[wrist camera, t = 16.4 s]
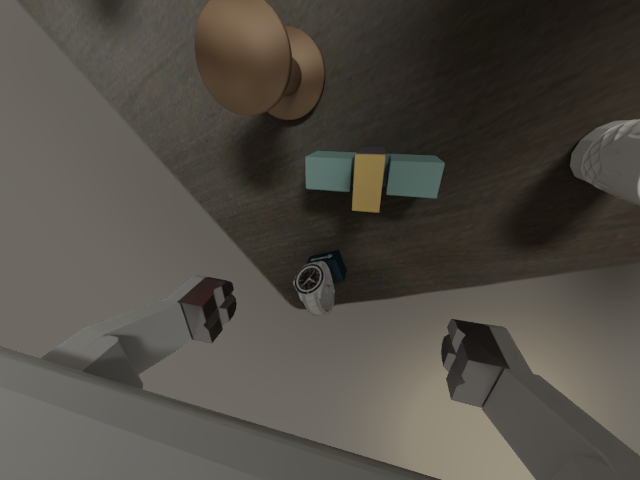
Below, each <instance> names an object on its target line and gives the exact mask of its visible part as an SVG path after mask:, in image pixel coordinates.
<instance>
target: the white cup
mask: <svg viewBox="0 0 640 480" xmlns="http://www.w3.org/2000/svg"><path fill="white" fill-rule="evenodd" d="M570 168H571V170H572V172H573V174H574V176H575V177H577V178H579V179H581V180H583V181H585V182H587V183H589V184H592V185H593V186H594V187H596V188H598V189H601V190H603V191H605V192H607V193H610V194H612V195H614V196H616V197H618V198H621V199H623V200H626V201H628V202H631V203H633V204H636V205H638V206H640V119H639V120H626V121H613V122H611V123H608V124H605V125H603V126H600V127H597V128H595V129H594V130H593V131H591V132H590V133H589V134H588V135H586V136H585V137H584V138H582V139H581V140H580V142H579V143H578V144H577V146H576V147H575V149H574V150H573V152H572V154H571V160H570Z"/></svg>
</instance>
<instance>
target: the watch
mask: <svg viewBox="0 0 640 480" xmlns="http://www.w3.org/2000/svg"><path fill="white" fill-rule="evenodd" d="M346 271H347V270H346V268H345V265H344V263H343V260H342V257H341V255H340V252H339V250H337V251H333V252H328V253H324V254H319V255H314V256H310V258H309V260H308V262H307V263H306V265H304V266H303V267H302V268H301V269H300V270H299V271H298V273H297V275H296V276H295V280H294V281H293V285H294V286H295V289H296V290H297V292H298V294H299V297H300V299H301V301H302V302H303V303H304V305H305V307H306V309H307V310H308V312H309V313H311V314H312V315H323V314H329V313H330V312H331V310H332V307H333V306H334V293H335V290H334V285H333V283H335V282H341V281H344V279H345V275H346ZM319 299H320V301H319Z"/></svg>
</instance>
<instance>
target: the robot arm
mask: <svg viewBox="0 0 640 480" xmlns="http://www.w3.org/2000/svg"><path fill="white" fill-rule="evenodd" d="M233 290H234V288H233V284H232V282H230V281H226V280H221V279H216V278H210V277H204V276H200V275H197V276H193V277H192V278H191V279H190V280H188V281H187V282H186V283H185V284H183V285H182V286H181V287H180V288H178V289H177V290H176V291H175V292H174V293H172V294H171V295H170V296H169V297H167V298H166V299H165V300H162V299H160V300H158V301H155V302H153V303H150V304H147V305H144V306H142V307H139V308H136V309H134V310H131V311H128V312H125V313H123V314H120V315H117V316H115V317H112V318H109V319H107V320H104V321H101V322H98V323H96V324H93V325H90V326H88V327H85V328H84V329H82V330H81V331H79V332H78V333H76V334H75V335H74V336H72V337H71V338H69V339H68V340H66V341H65V342H63V343H62V344H60V345H59V346H58V347H56V348H55V349H53V350H52V351H50V352H49V353H47V354H46V355H45V356H43V357H42V358H37V357H33V356H30V355H26V354H23V353H20V352H17V351H14V350H10V349H7V348H3V347H0V480H441V479H437V478H434V477H431V476H427V475H424V474H421V473H417V472H414V471H411V470H408V469H404V468H401V467H398V466H394V465H391V464H388V463H385V462H381V461H378V460H375V459H371V458H368V457H364V456H361V455H358V454H355V453H351V452H348V451H345V450H342V449H338V448H335V447H332V446H328V445H325V444H321V443H318V442H315V441H312V440H309V439H305V438H302V437H298V436H295V435H292V434H289V433H285V432H282V431H279V430H275V429H272V428H269V427H266V426H262V425H259V424H256V423H252V422H249V421H246V420H242V419H239V418H236V417H232V416H229V415H226V414H222V413H219V412H216V411H212V410H209V409H206V408H202V407H199V406H196V405H192V404H189V403H186V402H182V401H179V400H176V399H172V398H169V397H166V396H163V395H159V394H156V393H153V392H149V391H146V390H143V389H142V388H143V383H142V381H141V379H140V377H139V374H140V373H142V372H143V371H145V370H147V369H148V368H150V367H151V366H153V365H155V364H156V363H158V362H159V361H161V360H162V359H164V358H166V357H167V356H169V355H170V354H172V353H174V352H175V351H176V350H178V349H180V348H182V347H183V346H185V345H186V344H188V343H189V342H191V341H192V340H197V341H203V342H207V343H213V342H214V340H215V339H216V338H217V337H218V335H219V334H220V333H221V331H222V330H223V324H225V323H227V322H229V321H230V320H231V318H232V317H233V315H234V313H235V310H236V298H235V297H234V296H233V295H232V292H233ZM447 328H448V331H449V334H448V335H447V336H445V337H444V339H443V342H442V350H441V354H442V362H443V366H444V367H445V368H446V370H447V371H448V372H449V374H448V376H447V378H446V380H447V383H448V388H449V392H450V396H451V400H454V401H459V402H462V403H466V404H469V405H473V406H477V407H481V408H482V410H483V411H484V412H485V414H486V415H487V416H488V418H489V419H490V420H491V422H492V423H493V424H494V425H495V427H496V428H497V429H498V431H499V432H500V433H501V435H502V436H503V437H504V439H505V440H506V441H507V442H508V444H509V445H510V446H511V448H512V449H513V450H514V452H515V453H516V454H517V455H518V457H519V458H520V459H521V461H522V462H523V463H524V465H525V466H526V467H527V469H528V470H529V471H530V473H531V474H532V475H533V476H534V478H535V479H536V480H640V456H639V455H638V454H637V453H635V452H634V451H633V450H631V449H630V448H629V447H628V446H627V445H625V444H624V443H623V442H622V441H620V440H619V439H618V438H617V437H615V436H614V435H613V434H612V433H610V432H609V431H608V430H607V429H605V428H604V427H603V426H602V425H600V424H599V423H598V422H597V421H595V420H594V419H593V418H592V417H591V416H589V415H588V414H587V413H585V412H584V411H583V410H582V409H581V408H579V407H578V406H577V405H575V404H574V403H573V402H572V401H571V400H569V399H568V398H567V397H566V396H564V395H563V394H562V393H561V392H559V391H558V390H557V389H555V388H554V387H553V386H552V385H551V384H549V383H548V382H547V381H546V380H544V379H543V378H542V377H541V376H539V375H535V374H533V373H532V371H531V370H530V368H529V366H528V365H527V363H526V361H525V359H524V358H523V356H522V354H521V352H520V351H519V349H518V348H517V346H516V344H515V342H514V341H513V339H512V338H511V335H510V334H509V332H508V330H507V329H506V328H504V327H501V326H494V325H487V324H486V325H485V324H479V323H474V322H467V321H461V320H455V319H451V321H450V322H449V324H448V327H447Z"/></svg>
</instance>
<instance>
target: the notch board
mask: <svg viewBox="0 0 640 480" xmlns="http://www.w3.org/2000/svg"><path fill="white" fill-rule="evenodd" d="M356 153H357V152H332V151H316V152H314V153H312V154H310V155H308V156H306V157H305V165H306V189H317V190H330V191H343V192H350V190H351V188H352V186H353V183H354V166H355V154H356ZM444 165H445V163H444V162H443V161H442V160H440V159H439V158H438V157H436V156H434V155H408V154H386V155H385V164H384V173H383V182H382V186H386V195H397V196H411V197H424V198H437V194H438V190H439V186H440V182H441V177H442V173H443V169H444Z"/></svg>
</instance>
